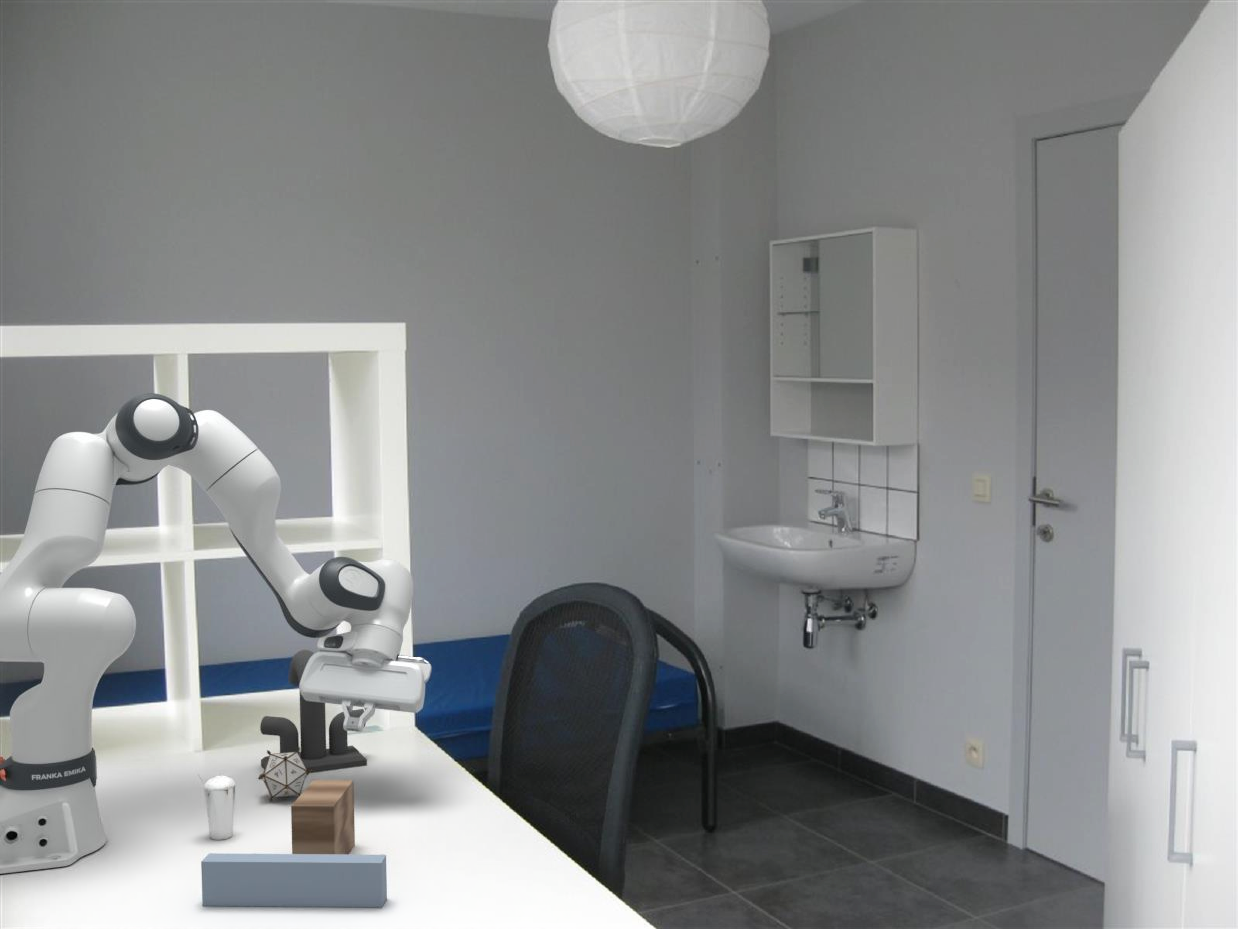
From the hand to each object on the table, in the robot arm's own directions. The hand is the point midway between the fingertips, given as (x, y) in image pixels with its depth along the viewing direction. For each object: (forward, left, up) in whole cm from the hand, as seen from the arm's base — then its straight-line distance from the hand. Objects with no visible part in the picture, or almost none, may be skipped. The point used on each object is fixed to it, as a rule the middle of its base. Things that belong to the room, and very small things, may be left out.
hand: (352, 730), depth 215 cm
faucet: (+2, +31, -14) cm, 34 cm away
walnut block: (-11, -18, -13) cm, 25 cm away
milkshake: (-22, -1, -14) cm, 26 cm away
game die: (-8, +12, -14) cm, 20 cm away
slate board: (-19, -31, -13) cm, 39 cm away
